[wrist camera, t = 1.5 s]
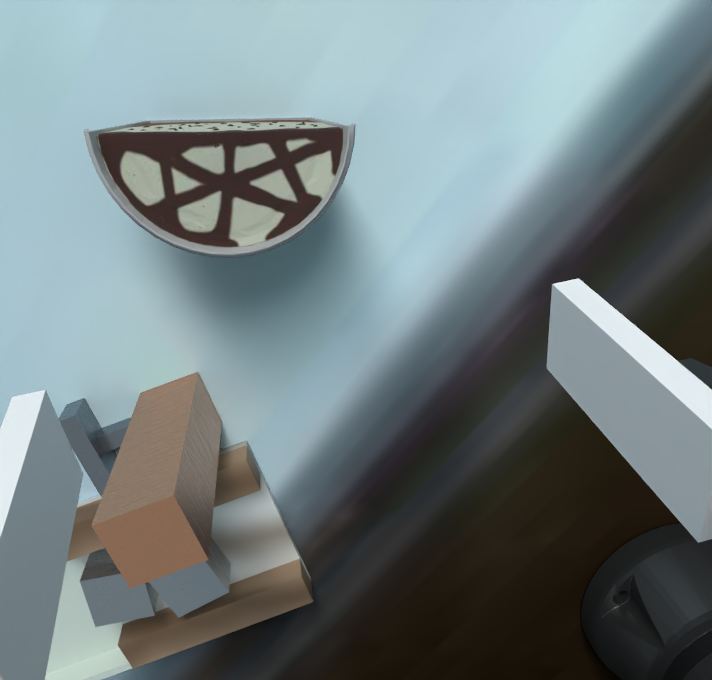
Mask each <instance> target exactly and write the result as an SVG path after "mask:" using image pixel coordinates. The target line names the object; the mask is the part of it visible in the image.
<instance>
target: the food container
mask: <svg viewBox="0 0 712 680" xmlns="http://www.w3.org/2000/svg"><path fill="white" fill-rule="evenodd" d="M84 134H85V139H86V143H87V147H88V151H89V154H90V157H91V159H92V162H93V164H94V167H95V169H96V172H97V174H98V176H99V177H100V179H101V181H102V182H103V184H104V186H105V188H106V189H107V191H108V193H109V194H110V195H111V197H112V198H113V199H114V200H115V202H116V203H117V204H118V205H119V207H120V208H121V209H122V210H123V211H124V212H125V213H126V214H127V215H128V216H129V217H130V218H131V219H132V220H133V221H134V222H135V223H136V224H137V225H139V226H140V227H142V228H143V229H144V230H146V231H147V232H149V233H150V234H151V235H153V236H154V237H156V238H158V239H160V240H162V241H164V242H166V243H168V244H170V245H171V246H173V247H176V248H179V249H182V250H185V251H188V252H191V253H195V254H200V255H205V256H211V257H241V256H249V255H255V254H258V253H262V252H265V251H269V250H272V249H274V248H276V247H278V246H280V245H283V244H285V243H287V242H289V241H291V240H292V239H294V238H295V237H297V236H298V235H300V234H301V233H303V232H304V231H305V230H307V229H308V228H309V227H310V226H311V225H312V224H313V223H314V222H315V221H316V220H317V219H318V218H320V217H321V215H322V214H323V213H324V212H325V210H326V209H327V208H328V206H329V205H330V204H331V203H332V201H333V200H334V198H335V196H336V194H337V193H338V191H339V189H340V187H341V185H342V184H343V181H344V179H345V176H346V173H347V170H348V168H349V165H350V161H351V156H352V152H353V147H354V139H355V124H352V125H350V126H347V125H343V124H338V123H333V122H329V121H324V120H319V119H315V118H265V119H213V120H161V121H142V122H137V123H131V124H126V125H121V126H115V127H110V128H104V129H99V130H94V131H89V129H88V130H84Z"/></svg>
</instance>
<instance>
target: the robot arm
mask: <svg viewBox="0 0 712 680" xmlns="http://www.w3.org/2000/svg"><path fill="white" fill-rule="evenodd" d="M547 369H548V370H549V371H550V372H551V374H552V375H553V376H554V377H555V378H556V379H557V380H558V382H559V383H560V384H561V385H562V386H563V387H564V389H565V390H566V391H567V392H568V393H569V394H570V395H571V397H572V398H573V399H574V400H575V401H576V402H577V404H578V405H579V406H580V407H581V408H582V409H583V410H584V412H585V413H586V414H587V415H588V416H589V417H590V419H591V420H592V421H593V422H594V423H595V424H596V425H597V427H598V428H599V429H600V430H601V431H602V432H603V434H604V435H605V436H606V437H607V438H608V439H609V440H610V442H611V443H612V444H613V445H614V446H615V447H616V448H617V450H618V451H619V452H620V453H621V454H622V455H623V457H624V458H625V459H626V460H627V461H628V462H629V463H630V465H631V466H632V467H633V468H634V469H635V470H636V472H637V473H638V474H639V475H640V476H641V477H642V478H643V480H644V481H645V482H646V483H647V484H648V485H649V487H650V488H651V489H652V490H653V491H654V492H655V493H656V495H657V496H658V497H659V498H660V499H661V500H662V502H663V503H664V504H665V505H666V506H667V507H668V508H669V510H670V511H671V512H672V513H673V514H674V515H675V516H676V518H677V519H678V520H679V521H680V522H681V523H678V524H672V525H667V526H663V527H659V528H656V529H653V530H651V531H648V532H646V533H644V534H642V535H640V536H638V537H636V538H634V539H632V540H631V541H629V542H627V543H626V544H625V545H623V546H622V547H620V548H619V549H618V550H617V551H615V552H614V553H613V554H612V555H611V556H610V557H609V558H608V559H607V560H606V561H605V562H604V563H603V564H602V565H601V567H600V568H599V569H598V570H597V572H596V573H595V575H594V576H593V578H592V579H591V581H590V583H589V585H588V587H587V589H586V592H585V595H584V598H583V602H582V607H581V621H582V627H583V630H584V633H585V635H586V637H587V639H588V640H589V642H590V644H591V645H592V647H593V649H594V650H595V652H596V653H597V655H598V657H599V658H600V659H601V661H602V662H603V663H604V664H605V665H606V666H607V667H608V668H609V669H610V670H611V671H612V672H613V673H615V674H616V675H617V676H618V677H619V678H620V679H622V680H712V367H710V366H707V365H705V364H703V363H701V362H698V361H696V360H694V359H691V358H689V359H685V360H681V361H677V360H676V359H674V358H673V357H672V356H671V355H670V354H668V353H667V352H666V351H665V350H664V349H662V348H661V347H660V346H659V345H658V344H656V343H655V342H654V341H653V340H652V339H650V338H649V337H648V336H647V335H646V334H644V333H643V332H642V331H641V330H640V329H638V328H637V327H636V326H635V325H634V324H632V323H631V322H630V321H629V320H628V319H626V318H625V317H624V316H623V315H622V314H620V313H619V312H618V311H617V310H616V309H615V308H613V307H612V306H611V305H610V304H609V303H607V302H606V301H605V300H604V299H603V298H601V297H600V296H599V295H598V294H597V293H595V292H594V291H593V290H592V289H591V288H589V287H588V286H587V285H586V284H585V283H583V282H582V281H581V280H580V279H574V280H569V281H565V282H560V283H555V284H552V296H551V311H550V325H549V340H548V355H547ZM82 477H83V472H82V470H81V468H80V466H79V463H78V461H77V459H76V457H75V454H74V452H73V450H72V448H71V446H70V443H69V441H68V439H67V437H66V434H65V432H64V430H63V428H62V426H61V423H60V421H59V419H58V417H57V414H56V412H55V410H54V408H53V406H52V403H51V401H50V399H49V397H48V394H47V392H46V390H43V391H38V392H34V393H29V394H24V395H19V396H14V397H12V399H11V402H10V404H9V407H8V410H7V412H6V415H5V418H4V421H3V423H2V426H1V429H0V680H45V676H46V671H47V665H48V660H49V654H50V649H51V644H52V638H53V633H54V628H55V622H56V617H57V611H58V606H59V601H60V595H61V590H62V584H63V579H64V574H65V568H66V563H67V558H68V552H69V547H70V541H71V536H72V531H73V525H74V520H75V514H76V509H77V504H78V498H79V493H80V488H81V482H82Z"/></svg>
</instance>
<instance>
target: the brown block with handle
mask: <svg viewBox="0 0 712 680" xmlns="http://www.w3.org/2000/svg"><path fill="white" fill-rule="evenodd" d="M59 421H60V423H61V426H62V428H63V430H64V432H65V434H66V437H67V439H68V441H69V443H70V446H71V447H72V449H73V451H74V452H75V454H76V456H77V457H78V459H79V461H80V462H81V464H82V466H83V467H84V469H85V471H86V472H87V474H88V476H89V477H90V479H91V481H92V482H93V484H94V486H95V487H96V489H97V491H98V492H99V494H100V496H101V497H102V498H101V501H100V503H99V506H98V509H97V511H96V514H95V517H94V520H93V522H92V525H91V526H92V528H93V529H94V531H95V533H96V534H97V536H98V538H99V539H100V541H101V542H102V544H103V546H104V547H105V549H106V550H107V552H108V554H109V555H110V557H111V559H112V560H113V562H114V563H115V565H116V567H117V568H118V570H119V571H120V573H121V575H122V576H123V578H124V579H125V581H126V583H127V584H128V586H129V588H130V589H131V588H134V587H137V586H139V585H142V584H145V583H147V582H150V581H153V580H155V579H158V578H161V577H164V576H166V575H169V574H172V573H174V572H177V571H180V570H182V569H185V568H188V567H191V566H193V565H196V564H199V563H201V562H204V561H207V560H209V551H210V541H211V530H212V520H213V510H214V499H215V489H216V478H217V468H218V458H219V447H220V437H221V426H222V421H221V419H220V417H219V415H218V413H217V411H216V409H215V406H214V404H213V402H212V400H211V398H210V396H209V394H208V392H207V390H206V388H205V386H204V383H203V381H202V379H201V377H200V375H199V373H198V372H197V373H194V374H191V375H189V376H186V377H183V378H180V379H178V380H175V381H172V382H170V383H167V384H164V385H161V386H159V387H156V388H153V389H150V390H148V391H145V392H142V393H140V396H139V399H138V401H137V404H136V407H135V409H134V412H133V415H132V417H131V418H129V419H126V420H123V421H120V422H118V423H115V424H112V425H110V426H107V427H104V428H101V427H100V425H99V423H98V421H97V420H96V418H95V416H94V414H93V413H92V411H91V409H90V407H89V406H88V404H87V402H86V400H85V398H84V399H81V400H78V401H76V402H73V403H70V404H67V405H66V407H65V409H64V410H63V412H62V414H61V416H60V417H59ZM119 447H120V450H119V452H118V455H116V453H115V451H114V449H116V448H119Z"/></svg>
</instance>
